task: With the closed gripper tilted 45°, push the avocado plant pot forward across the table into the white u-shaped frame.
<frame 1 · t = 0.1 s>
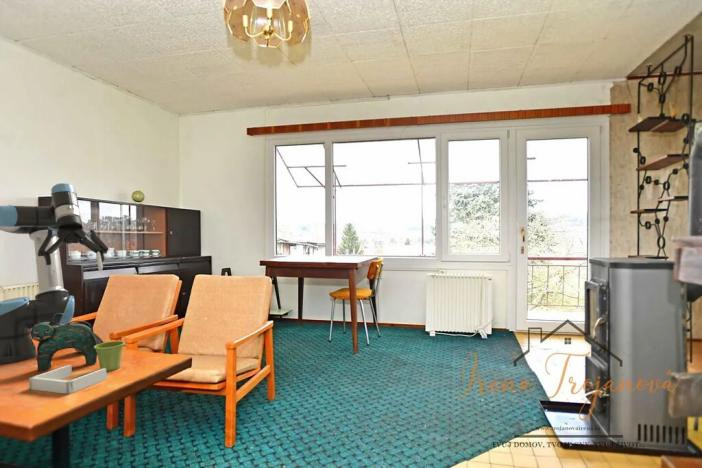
hand: (78, 270, 140), 36 cm above the table, tool tilted 35°, fingers open, 13 cm apart
ceramic cat: (66, 367, 153), on the table
white u-shaped frame: (70, 383, 135), on the table
plant pot: (110, 369, 149), on the table
decorative rock: (87, 352, 172), on the table
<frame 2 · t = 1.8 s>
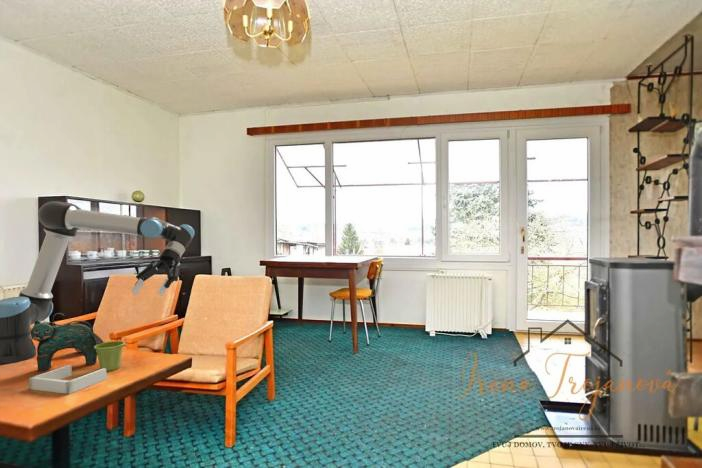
hand: (146, 293, 169), 24 cm above the table, tool tilted 45°, fingers open, 12 cm apart
nothing on the table moved.
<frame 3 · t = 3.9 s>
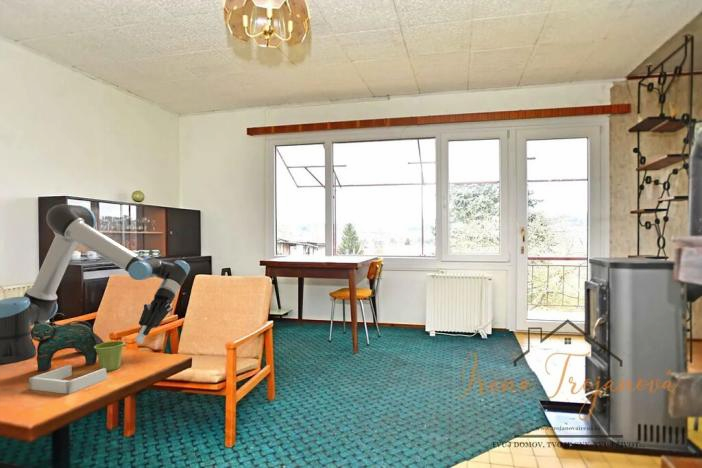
hand: (137, 342, 161), 6 cm above the table, tool tilted 45°, fingers closed
nothing on the table moved.
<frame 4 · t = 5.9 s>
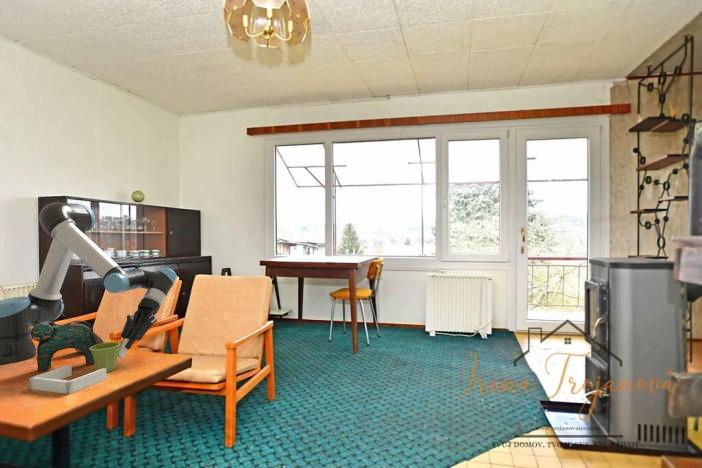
hand: (119, 356, 152), 4 cm above the table, tool tilted 45°, fingers closed
plant pot: (105, 370, 148), on the table, touching gripper
everything else where it was.
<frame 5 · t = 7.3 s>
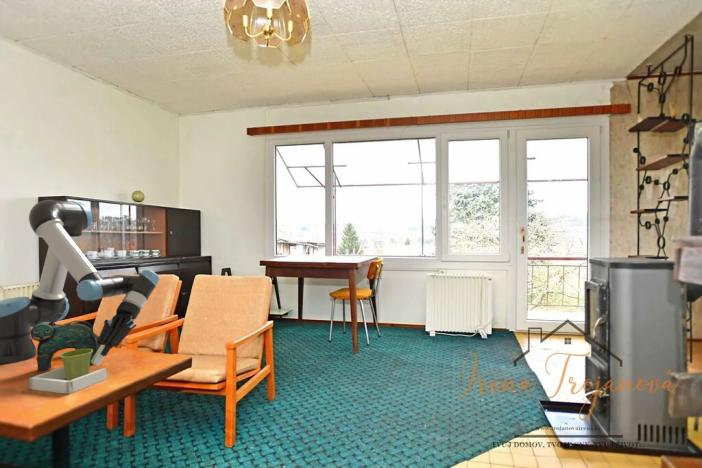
hand: (94, 363, 142), 4 cm above the table, tool tilted 45°, fingers closed
plant pot: (77, 379, 139), on the table, touching gripper
everything else where it was.
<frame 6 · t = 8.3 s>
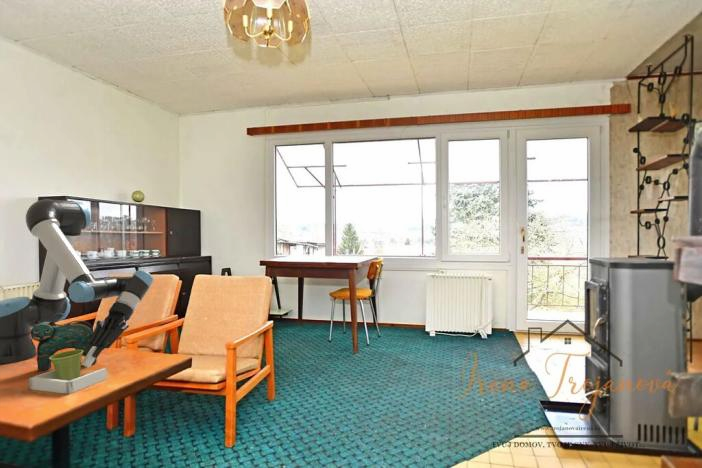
hand: (85, 365, 140), 4 cm above the table, tool tilted 45°, fingers closed
plant pot: (69, 380, 138), on the table, touching gripper
everything else where it was.
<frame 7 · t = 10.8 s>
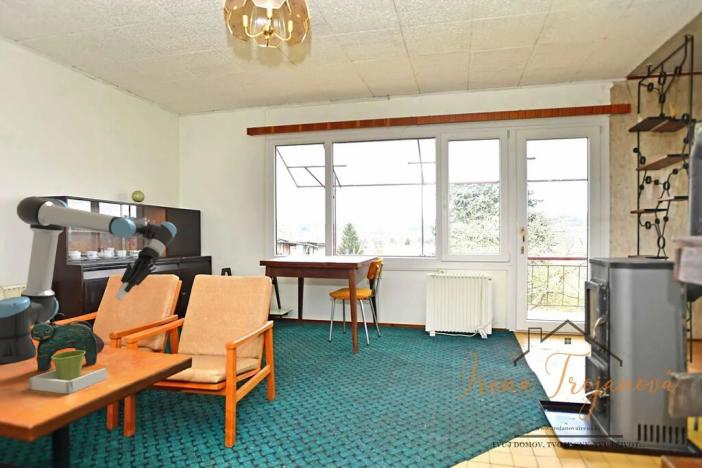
hand: (118, 298, 159), 24 cm above the table, tool tilted 45°, fingers closed
plant pot: (69, 381, 138), on the table
everything else where it was.
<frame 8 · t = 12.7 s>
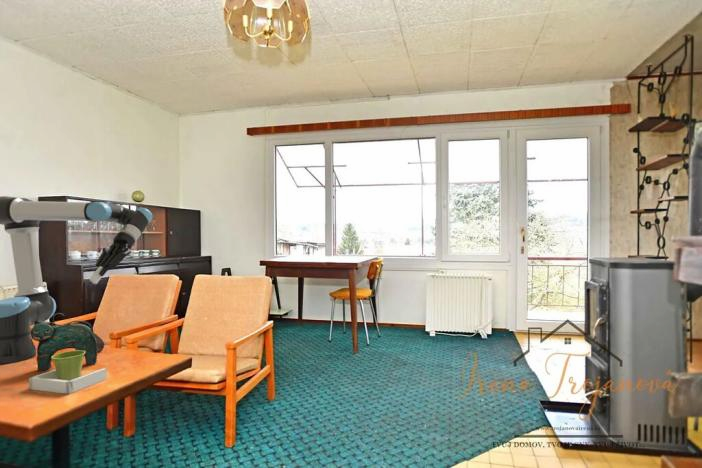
hand: (92, 281, 160), 30 cm above the table, tool tilted 45°, fingers closed
nothing on the table moved.
at the end: plant pot inside the target area (4.4 cm from its centre), on the table; plant pot tilted 0°; the gripper is holding nothing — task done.
